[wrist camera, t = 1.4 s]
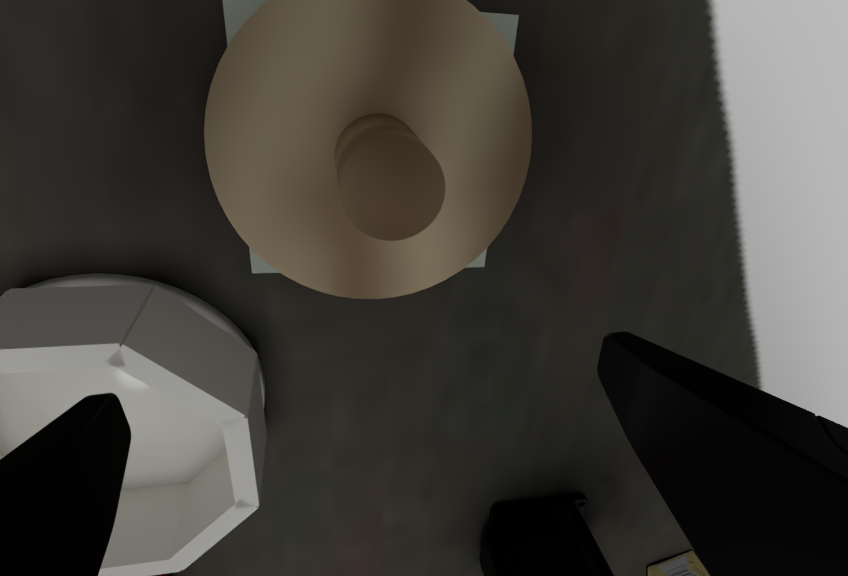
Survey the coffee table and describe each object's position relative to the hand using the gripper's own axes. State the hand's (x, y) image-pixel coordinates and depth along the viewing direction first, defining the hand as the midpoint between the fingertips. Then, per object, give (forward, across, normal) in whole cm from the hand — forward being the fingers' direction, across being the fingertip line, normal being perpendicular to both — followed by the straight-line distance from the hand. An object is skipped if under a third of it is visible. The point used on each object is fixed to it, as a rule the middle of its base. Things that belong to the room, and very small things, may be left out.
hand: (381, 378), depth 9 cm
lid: (+12, -1, -1) cm, 12 cm away
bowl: (+12, +10, +9) cm, 19 cm away
